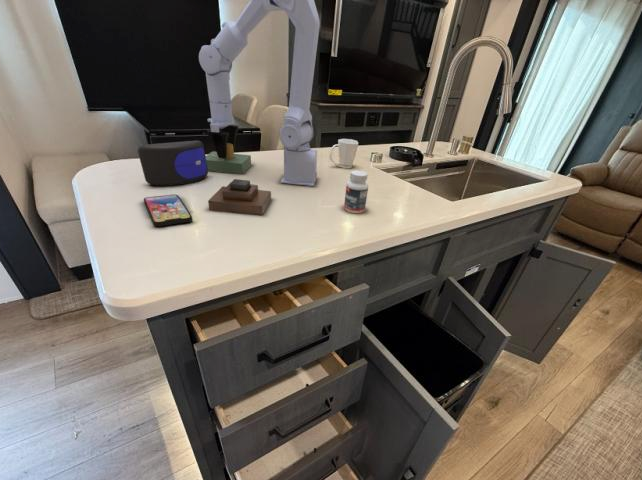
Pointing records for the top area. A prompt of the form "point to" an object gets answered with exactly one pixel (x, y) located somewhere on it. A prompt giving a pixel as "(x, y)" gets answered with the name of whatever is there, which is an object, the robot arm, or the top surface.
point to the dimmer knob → (229, 151)
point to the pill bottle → (356, 192)
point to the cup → (345, 152)
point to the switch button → (240, 185)
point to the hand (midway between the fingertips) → (226, 154)
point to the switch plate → (240, 200)
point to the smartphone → (167, 210)
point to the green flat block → (228, 163)
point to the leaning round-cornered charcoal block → (173, 162)
